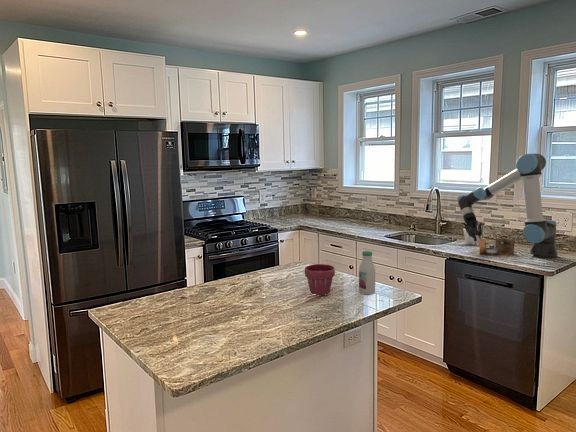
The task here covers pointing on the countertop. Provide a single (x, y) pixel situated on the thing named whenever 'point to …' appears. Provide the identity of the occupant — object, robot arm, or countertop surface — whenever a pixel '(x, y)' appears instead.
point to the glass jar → (482, 229)
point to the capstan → (487, 248)
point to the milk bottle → (367, 274)
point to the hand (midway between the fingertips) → (479, 245)
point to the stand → (500, 248)
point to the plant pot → (319, 278)
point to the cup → (468, 238)
